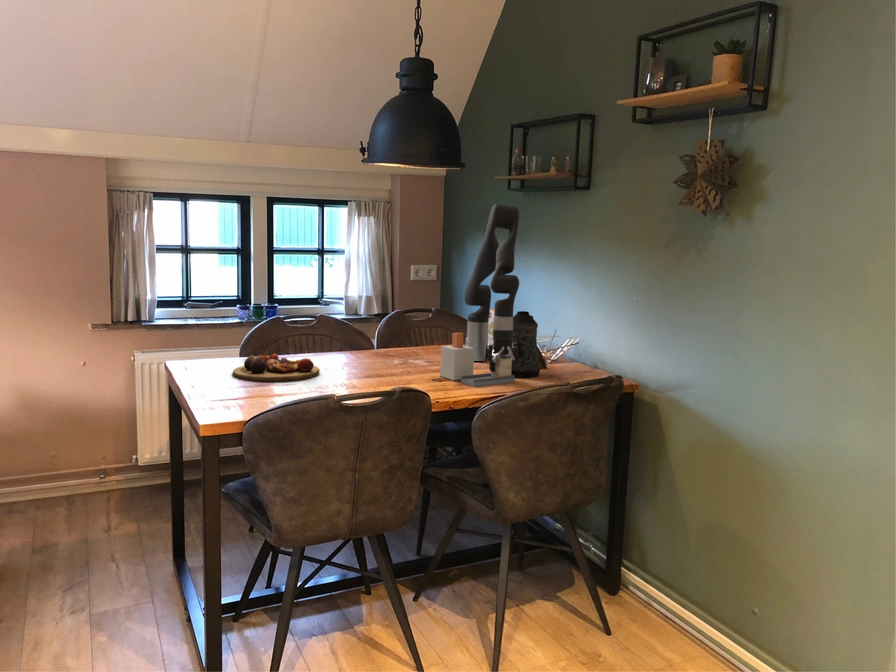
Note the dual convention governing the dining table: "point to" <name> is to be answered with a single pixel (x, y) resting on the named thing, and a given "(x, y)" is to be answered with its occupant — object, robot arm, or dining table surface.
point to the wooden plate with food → (275, 369)
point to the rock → (541, 359)
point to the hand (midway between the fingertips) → (501, 370)
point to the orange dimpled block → (457, 340)
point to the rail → (486, 379)
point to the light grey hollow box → (456, 362)
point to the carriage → (502, 367)
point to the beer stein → (525, 346)
